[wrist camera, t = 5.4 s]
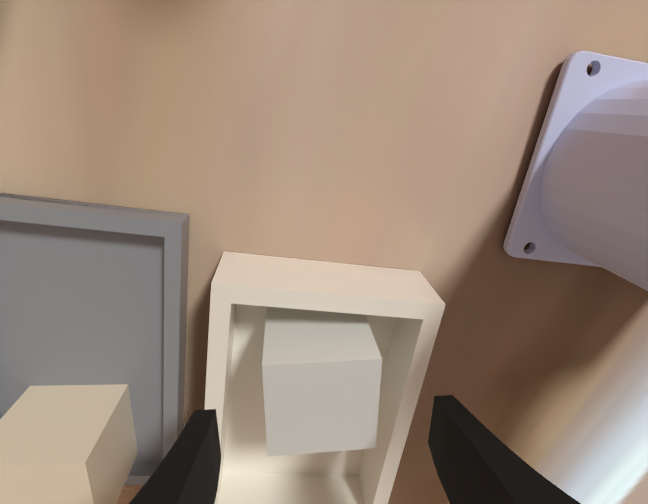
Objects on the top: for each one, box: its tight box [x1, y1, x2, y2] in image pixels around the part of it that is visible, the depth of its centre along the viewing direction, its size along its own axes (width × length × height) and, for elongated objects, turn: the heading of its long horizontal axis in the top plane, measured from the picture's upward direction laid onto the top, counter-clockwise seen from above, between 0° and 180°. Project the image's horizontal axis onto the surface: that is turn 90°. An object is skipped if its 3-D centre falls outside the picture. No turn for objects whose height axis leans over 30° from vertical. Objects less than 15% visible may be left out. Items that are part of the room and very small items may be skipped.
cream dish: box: [204, 251, 446, 504], centre depth 17 cm, size 8×12×3 cm
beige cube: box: [0, 384, 138, 504], centre depth 16 cm, size 4×4×4 cm
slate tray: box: [0, 193, 189, 485], centre depth 16 cm, size 8×13×1 cm, turn 172°
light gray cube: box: [262, 307, 382, 457], centre depth 15 cm, size 4×4×4 cm
